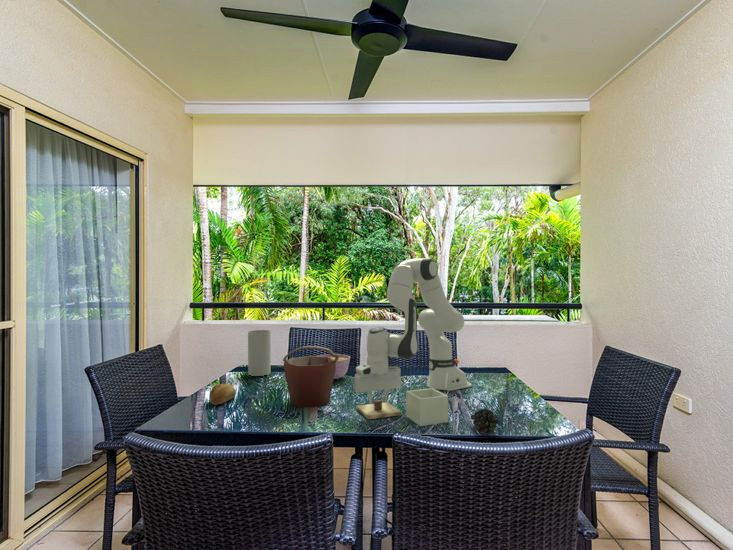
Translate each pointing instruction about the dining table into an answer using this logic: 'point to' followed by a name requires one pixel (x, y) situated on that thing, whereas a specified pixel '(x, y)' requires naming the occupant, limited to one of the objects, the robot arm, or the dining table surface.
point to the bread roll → (222, 393)
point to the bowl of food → (340, 364)
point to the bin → (427, 406)
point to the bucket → (310, 378)
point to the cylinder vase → (259, 353)
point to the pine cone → (484, 421)
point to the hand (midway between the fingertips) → (377, 401)
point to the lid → (378, 410)
